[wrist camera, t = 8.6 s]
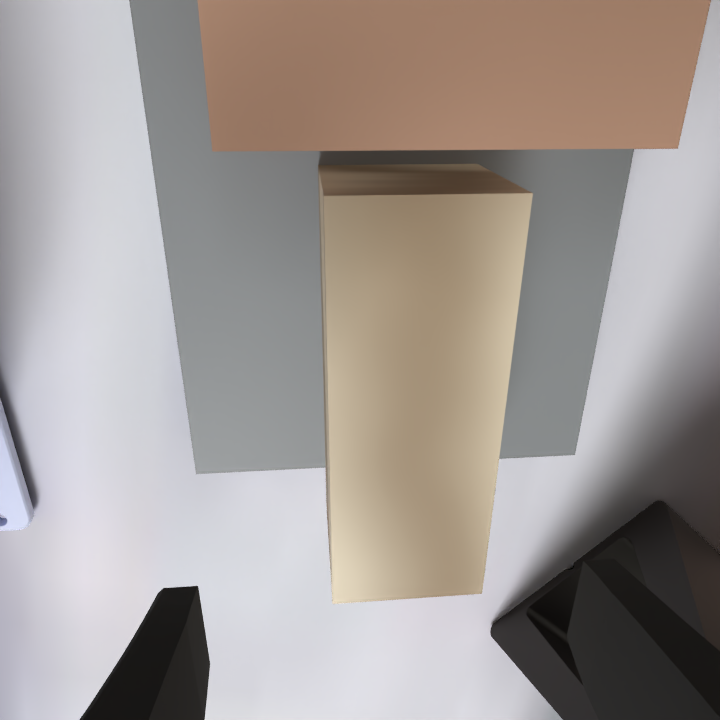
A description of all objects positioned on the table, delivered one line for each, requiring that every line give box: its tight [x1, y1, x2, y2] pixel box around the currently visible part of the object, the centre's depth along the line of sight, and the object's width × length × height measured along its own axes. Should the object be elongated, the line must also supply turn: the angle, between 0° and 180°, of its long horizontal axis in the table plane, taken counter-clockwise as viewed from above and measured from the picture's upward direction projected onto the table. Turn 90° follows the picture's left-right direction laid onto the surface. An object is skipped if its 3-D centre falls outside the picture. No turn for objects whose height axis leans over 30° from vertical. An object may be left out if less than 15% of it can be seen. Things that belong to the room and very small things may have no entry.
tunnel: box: [197, 0, 711, 152], centre depth 11 cm, size 8×3×5 cm, turn 90°
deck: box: [129, 0, 634, 474], centre depth 15 cm, size 12×20×2 cm, turn 0°
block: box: [318, 164, 533, 604], centre depth 15 cm, size 4×10×4 cm, turn 0°
